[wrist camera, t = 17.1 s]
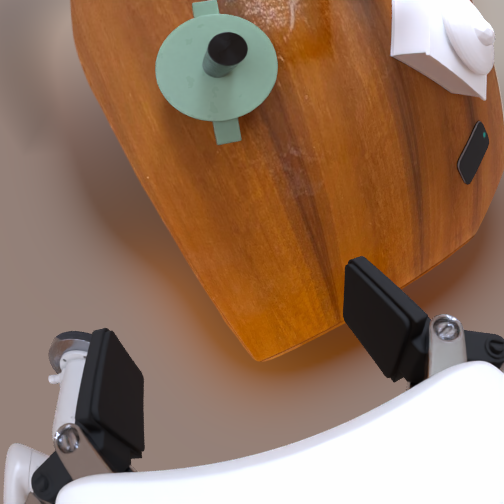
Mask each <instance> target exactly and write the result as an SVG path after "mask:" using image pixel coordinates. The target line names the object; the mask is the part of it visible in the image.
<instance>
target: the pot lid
mask: <svg viewBox="0 0 504 504" xmlns="http://www.w3.org/2000/svg"><path fill="white" fill-rule="evenodd" d="M277 70H278V63H277V56H276V52H275V50H274V47H273V45H272V43H271V42H270V40H269V38H268V37H267V36H266V35H265V33H264V32H263V31H262V30H260V29H259V28H258V27H257V26H255V25H254V24H252V23H251V22H249V21H247V20H245V19H242V18H240V17H236V16H233V15H226V14H210V15H204V16H200V17H197V18H193V19H191V20H189V21H187V22H185V23H183V24H182V25H180V26H179V27H177V28H176V29H175V30H174V31H173V32H172V33H171V34H170V35H169V36H168V37H167V38H166V40H165V41H164V42H163V44H162V46H161V48H160V50H159V53H158V55H157V60H156V68H155V71H156V79H157V83H158V86H159V88H160V90H161V92H162V94H163V95H164V97H165V98H166V99H167V101H168V102H169V103H170V104H171V105H172V106H173V107H174V108H176V109H177V110H179V111H180V112H182V113H183V114H185V115H187V116H190V117H193V118H195V119H200V120H205V121H225V120H230V119H234V118H238V117H240V116H243V115H245V114H247V113H249V112H251V111H252V110H254V109H255V108H256V107H258V106H259V105H260V104H261V103H262V102H263V101H264V100H265V99H266V98H267V96H268V95H269V93H270V92H271V90H272V88H273V86H274V83H275V81H276V77H277Z"/></svg>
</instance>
